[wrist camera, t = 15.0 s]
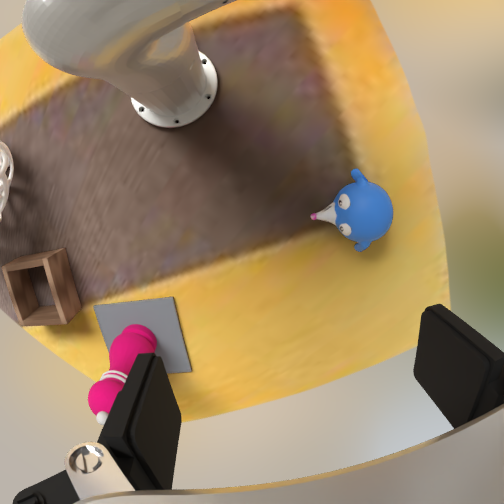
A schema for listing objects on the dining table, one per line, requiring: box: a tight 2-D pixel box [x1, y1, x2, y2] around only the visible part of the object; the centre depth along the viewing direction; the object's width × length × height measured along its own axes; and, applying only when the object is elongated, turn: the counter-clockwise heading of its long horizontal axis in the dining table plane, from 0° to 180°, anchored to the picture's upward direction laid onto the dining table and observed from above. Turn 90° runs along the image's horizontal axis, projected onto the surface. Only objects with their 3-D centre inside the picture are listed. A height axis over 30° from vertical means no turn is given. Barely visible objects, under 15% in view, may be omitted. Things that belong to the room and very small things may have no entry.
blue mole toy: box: [310, 169, 393, 252], centre depth 42 cm, size 12×12×8 cm
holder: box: [2, 248, 82, 326], centre depth 43 cm, size 11×11×6 cm
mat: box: [93, 297, 192, 373], centre depth 49 cm, size 14×14×1 cm
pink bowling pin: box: [88, 324, 157, 425], centre depth 39 cm, size 7×7×20 cm
